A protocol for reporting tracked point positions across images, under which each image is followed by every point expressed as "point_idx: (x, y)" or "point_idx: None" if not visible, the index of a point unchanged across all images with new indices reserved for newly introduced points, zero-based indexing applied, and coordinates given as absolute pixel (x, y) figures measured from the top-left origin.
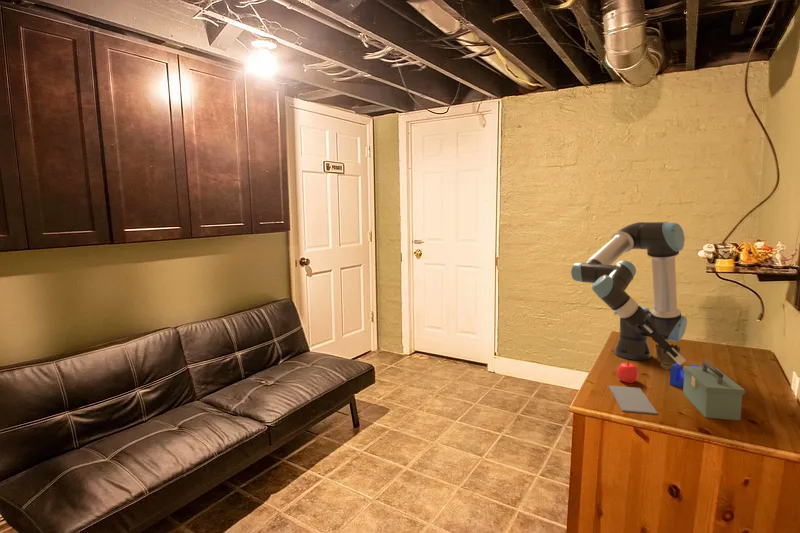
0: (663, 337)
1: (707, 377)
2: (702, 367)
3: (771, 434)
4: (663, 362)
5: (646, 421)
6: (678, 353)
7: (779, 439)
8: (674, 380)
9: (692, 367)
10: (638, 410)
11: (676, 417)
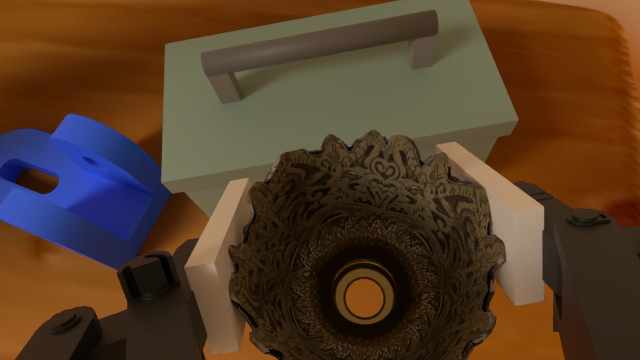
0: (169, 263)
1: (342, 96)
2: (219, 92)
3: (510, 35)
4: (431, 325)
5: None
6: (490, 172)
7: (538, 24)
8: (122, 248)
9: (184, 140)
10: None
11: (536, 303)
